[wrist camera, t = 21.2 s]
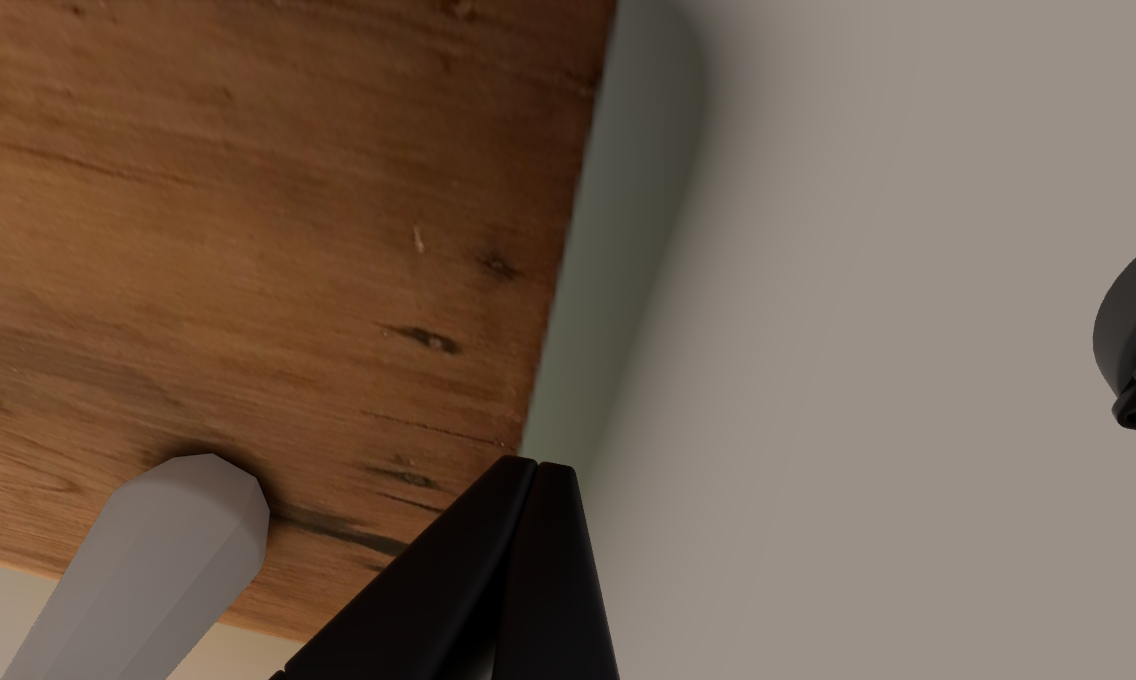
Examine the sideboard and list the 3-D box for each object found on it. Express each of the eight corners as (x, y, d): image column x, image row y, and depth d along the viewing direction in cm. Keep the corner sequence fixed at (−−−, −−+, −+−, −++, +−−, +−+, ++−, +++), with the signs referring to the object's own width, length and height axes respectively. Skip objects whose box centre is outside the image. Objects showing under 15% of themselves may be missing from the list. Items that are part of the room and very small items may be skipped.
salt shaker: (293, 555, 31) (76, 938, 21) (160, 521, 31) (-122, 884, 21) (285, 456, 28) (17, 858, 17) (135, 419, 28) (-220, 794, 17)
